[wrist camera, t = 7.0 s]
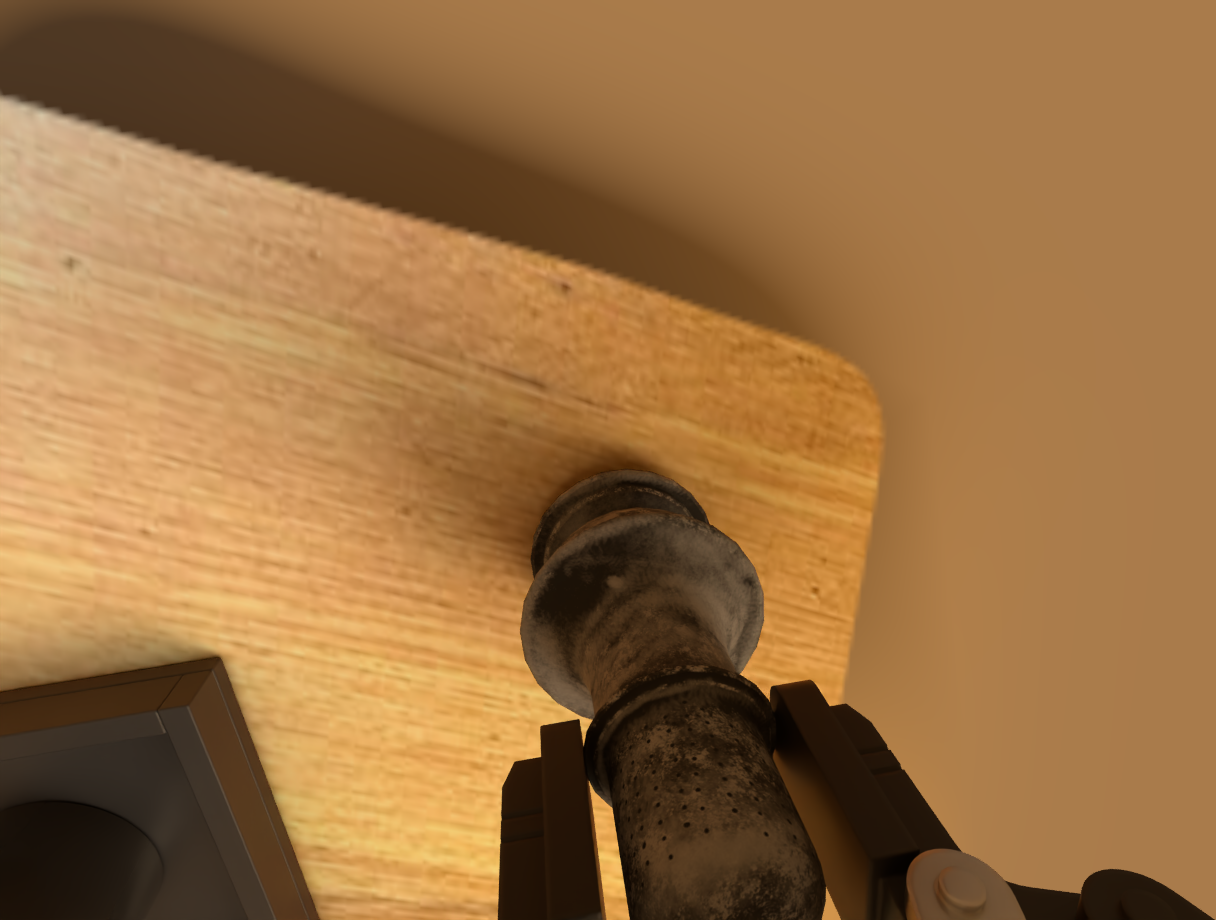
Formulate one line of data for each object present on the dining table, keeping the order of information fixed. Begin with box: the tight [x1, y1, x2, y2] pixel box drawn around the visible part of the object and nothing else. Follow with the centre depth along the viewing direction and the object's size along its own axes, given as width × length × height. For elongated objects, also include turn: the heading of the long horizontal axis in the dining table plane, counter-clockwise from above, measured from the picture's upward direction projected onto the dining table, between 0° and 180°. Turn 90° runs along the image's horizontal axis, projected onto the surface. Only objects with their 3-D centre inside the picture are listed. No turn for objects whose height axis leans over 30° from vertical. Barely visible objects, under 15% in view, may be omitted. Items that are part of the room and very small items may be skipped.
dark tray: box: [0, 658, 319, 920], centre depth 20 cm, size 13×13×2 cm
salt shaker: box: [520, 469, 826, 920], centre depth 13 cm, size 6×6×12 cm
